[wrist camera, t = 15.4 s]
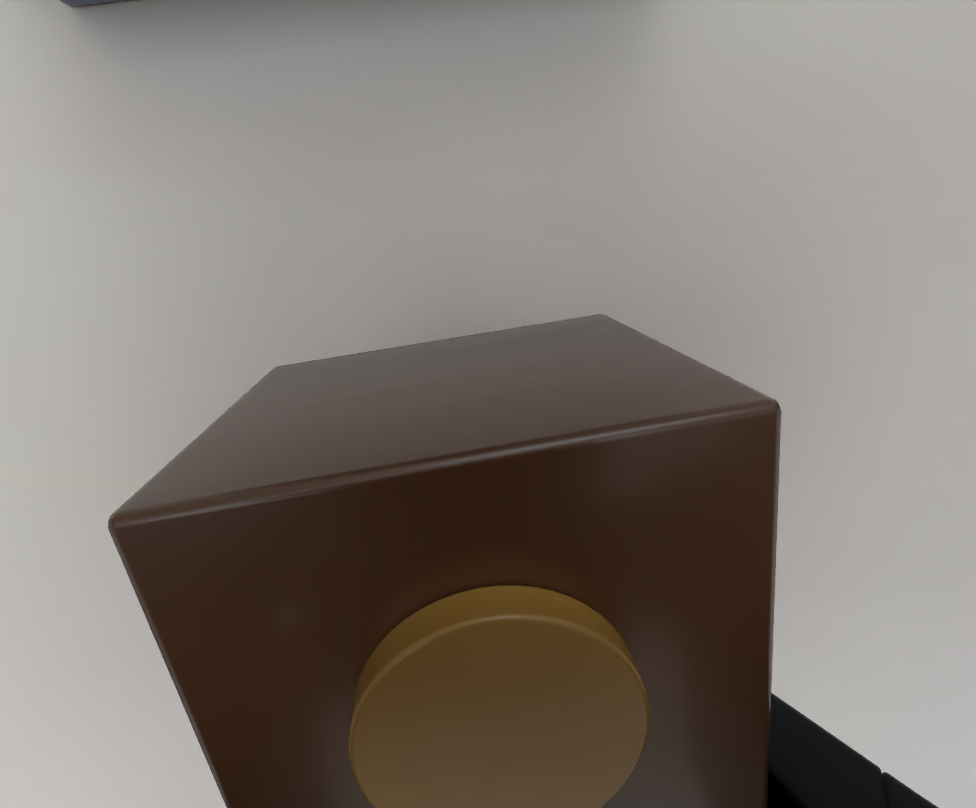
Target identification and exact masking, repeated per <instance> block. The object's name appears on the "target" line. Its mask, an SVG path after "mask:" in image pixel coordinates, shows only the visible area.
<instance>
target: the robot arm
mask: <svg viewBox="0 0 976 808" xmlns="http://www.w3.org/2000/svg"><path fill="white" fill-rule="evenodd" d="M767 808H938V807H937V806H935V805H934V804H932V803H931V802H929V801H928V800H926V799H925V798H923V797H922V796H920V795H919V794H917V793H916V792H914V791H913V790H911V789H910V788H908V787H907V786H906V785H904V784H903V783H901V782H900V781H898V780H897V779H895V778H894V777H893V776H891V775H890V774H888V773H886V772H884V773H881V770H880V768H879V767H878V766H876V765H875V764H873V763H872V762H871V761H869V760H868V759H866V758H865V757H863V756H862V755H860V754H859V753H858V752H856V751H855V750H853V749H852V748H850V747H849V746H847V745H846V744H845V743H843V742H842V741H840V740H839V739H837V738H836V737H834V736H833V735H832V734H830V733H829V732H827V731H826V730H824V729H823V728H821V727H820V726H819V725H817V724H816V723H814V722H813V721H811V720H810V719H808V718H807V717H806V716H804V715H803V714H801V713H800V712H798V711H797V710H795V709H794V708H793V707H791V706H790V705H788V704H787V703H785V702H784V701H782V700H781V699H780V698H778V697H777V696H775V695H774V694H772V693H771V709H770V737H769V766H768V794H767Z"/></svg>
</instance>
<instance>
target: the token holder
mask: <svg viewBox="0 0 976 808" xmlns="http://www.w3.org/2000/svg"><path fill="white" fill-rule="evenodd" d="M780 427H781V410H780V407H779V404H778V403H777V401H776V400H774V399H772V398H770V397H768V396H766V395H764V394H762V393H760V392H758V391H756V390H754V389H752V388H750V387H748V386H746V385H744V384H742V383H740V382H738V381H736V380H734V379H732V378H730V377H728V376H726V375H724V374H722V373H720V372H718V371H716V370H714V369H712V368H710V367H708V366H706V365H704V364H702V363H700V362H698V361H696V360H694V359H692V358H690V357H688V356H686V355H684V354H682V353H680V352H678V351H676V350H674V349H672V348H670V347H668V346H666V345H664V344H662V343H660V342H658V341H656V340H654V339H652V338H650V337H648V336H646V335H644V334H642V333H640V332H638V331H636V330H634V329H632V328H630V327H628V326H626V325H624V324H622V323H620V322H618V321H616V320H614V319H612V318H610V317H608V316H606V315H602V314H598V315H592V316H586V317H580V318H574V319H568V320H561V321H555V322H549V323H543V324H537V325H530V326H524V327H518V328H512V329H506V330H500V331H493V332H487V333H481V334H475V335H469V336H463V337H456V338H450V339H444V340H438V341H432V342H425V343H419V344H413V345H407V346H401V347H395V348H388V349H382V350H376V351H370V352H364V353H357V354H351V355H345V356H339V357H333V358H327V359H320V360H314V361H308V362H302V363H296V364H289V365H283V366H277V367H275V368H274V369H272V370H271V371H270V372H269V373H268V374H267V375H266V376H265V377H263V378H262V379H261V380H260V381H259V382H258V383H257V384H256V385H255V386H253V387H252V388H251V389H250V390H249V391H248V392H247V393H246V394H245V395H243V396H242V397H241V398H240V399H239V400H238V401H237V402H236V403H235V404H234V405H232V406H231V407H230V408H229V409H228V410H227V411H226V412H225V413H224V414H222V415H221V416H220V417H219V418H218V419H217V420H216V421H215V422H214V423H212V424H211V425H210V426H209V427H208V428H207V429H206V430H205V431H204V432H202V433H201V434H200V435H199V436H198V437H197V438H196V439H195V440H194V441H193V442H191V443H190V444H189V445H188V446H187V447H186V448H185V449H184V450H183V451H181V452H180V453H179V454H178V455H177V456H176V457H175V458H174V459H173V460H171V461H170V462H169V463H168V464H167V465H166V466H165V467H164V468H163V469H161V470H160V471H159V472H158V473H157V474H156V475H155V476H154V477H153V478H152V479H150V480H149V481H148V482H147V483H146V484H145V485H144V486H143V487H142V488H140V489H139V490H138V491H137V492H136V493H135V494H134V495H133V496H132V497H130V498H129V499H128V500H127V501H126V502H125V503H124V504H123V505H122V506H120V507H119V508H118V509H117V510H116V511H115V512H114V513H113V514H112V515H111V516H110V518H109V520H108V529H109V531H110V534H111V536H112V538H113V541H114V543H115V545H116V548H117V550H118V553H119V555H120V557H121V560H122V562H123V564H124V567H125V569H126V571H127V574H128V576H129V578H130V581H131V583H132V586H133V588H134V590H135V593H136V595H137V597H138V600H139V602H140V604H141V607H142V609H143V611H144V614H145V616H146V618H147V621H148V623H149V626H150V628H151V630H152V633H153V635H154V637H155V640H156V642H157V644H158V647H159V649H160V651H161V654H162V656H163V658H164V661H165V663H166V666H167V668H168V670H169V673H170V675H171V677H172V680H173V682H174V684H175V687H176V689H177V691H178V694H179V696H180V698H181V701H182V703H183V706H184V708H185V710H186V713H187V715H188V717H189V720H190V722H191V724H192V727H193V729H194V731H195V734H196V736H197V739H198V741H199V743H200V746H201V748H202V750H203V753H204V755H205V757H206V760H207V762H208V764H209V767H210V769H211V771H212V774H213V776H214V779H215V781H216V783H217V786H218V788H219V790H220V793H221V795H222V797H223V800H224V802H225V804H226V807H227V808H767V794H768V766H769V737H770V709H771V681H772V653H773V624H774V596H775V568H776V540H777V511H778V483H779V455H780Z"/></svg>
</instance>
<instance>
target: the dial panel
mask: <svg viewBox="0 0 976 808" xmlns="http://www.w3.org/2000/svg"><path fill="white" fill-rule="evenodd" d="M60 1H61V2H63V3H65V4H66V5H68V6H71V7H74V6H82V5H90V4H98V3H106V2H114V1H122V0H60Z"/></svg>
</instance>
